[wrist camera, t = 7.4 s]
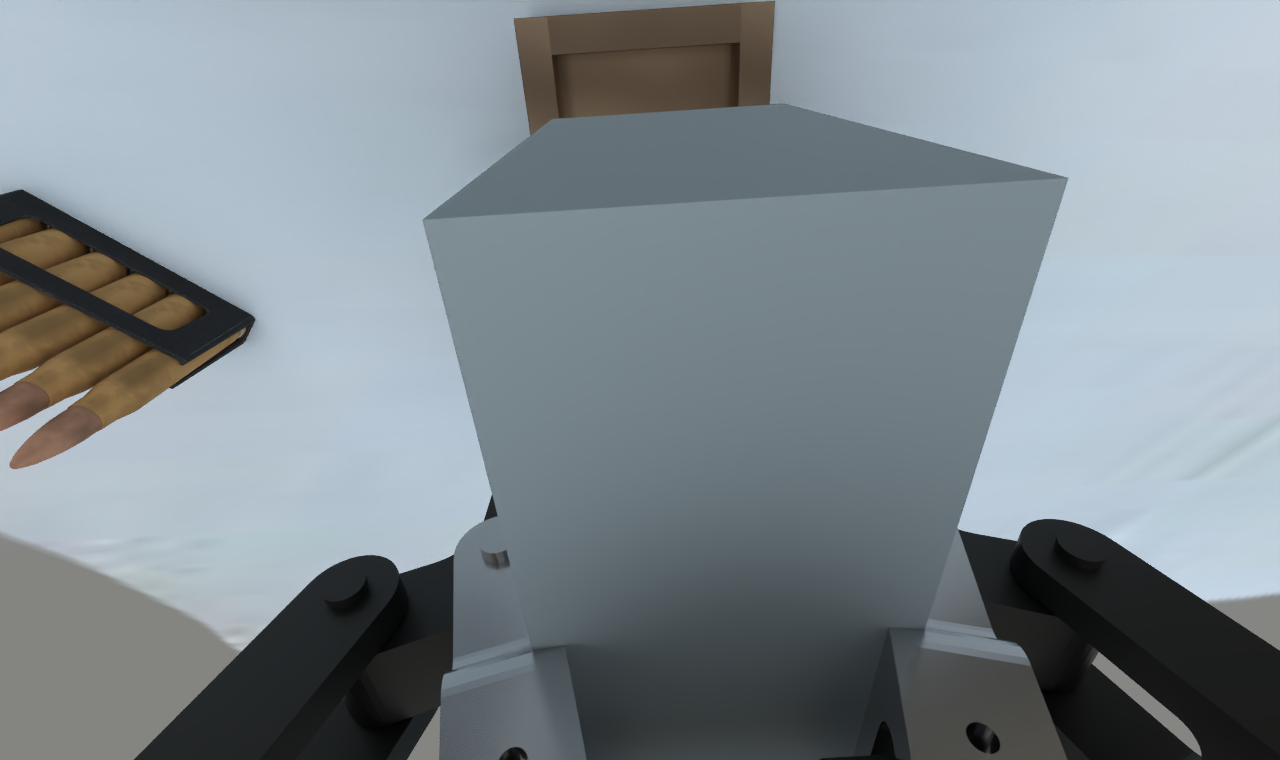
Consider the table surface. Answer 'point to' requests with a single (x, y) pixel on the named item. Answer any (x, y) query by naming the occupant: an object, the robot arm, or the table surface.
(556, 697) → the robot arm
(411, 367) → the table surface
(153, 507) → the table surface
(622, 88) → the cradle jig
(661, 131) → the long grey rectangular block
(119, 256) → the ammunition clip
